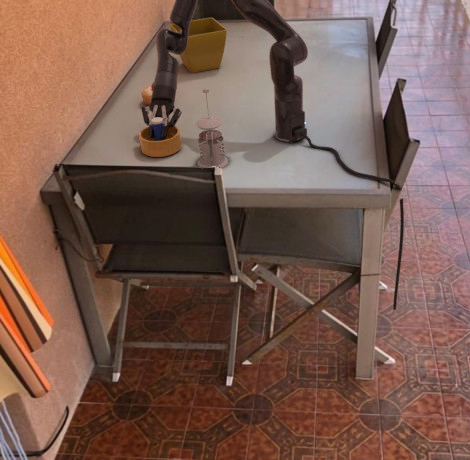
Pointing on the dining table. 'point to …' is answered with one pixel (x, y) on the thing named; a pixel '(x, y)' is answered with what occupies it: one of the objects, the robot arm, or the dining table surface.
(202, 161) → the french press
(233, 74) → the dining table surface
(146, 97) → the pastry
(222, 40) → the flower pot
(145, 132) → the bowl
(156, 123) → the vial
